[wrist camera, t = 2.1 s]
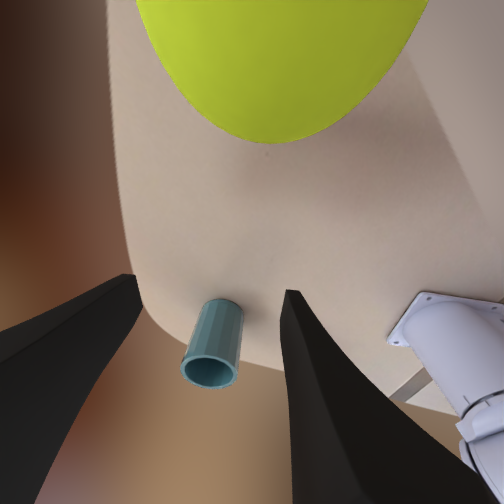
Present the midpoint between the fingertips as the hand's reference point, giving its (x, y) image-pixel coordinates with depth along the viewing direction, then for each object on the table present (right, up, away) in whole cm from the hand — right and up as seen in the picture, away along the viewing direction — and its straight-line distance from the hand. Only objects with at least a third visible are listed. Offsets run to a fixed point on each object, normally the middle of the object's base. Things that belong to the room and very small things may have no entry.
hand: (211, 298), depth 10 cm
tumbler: (-2, -5, +15) cm, 16 cm away
